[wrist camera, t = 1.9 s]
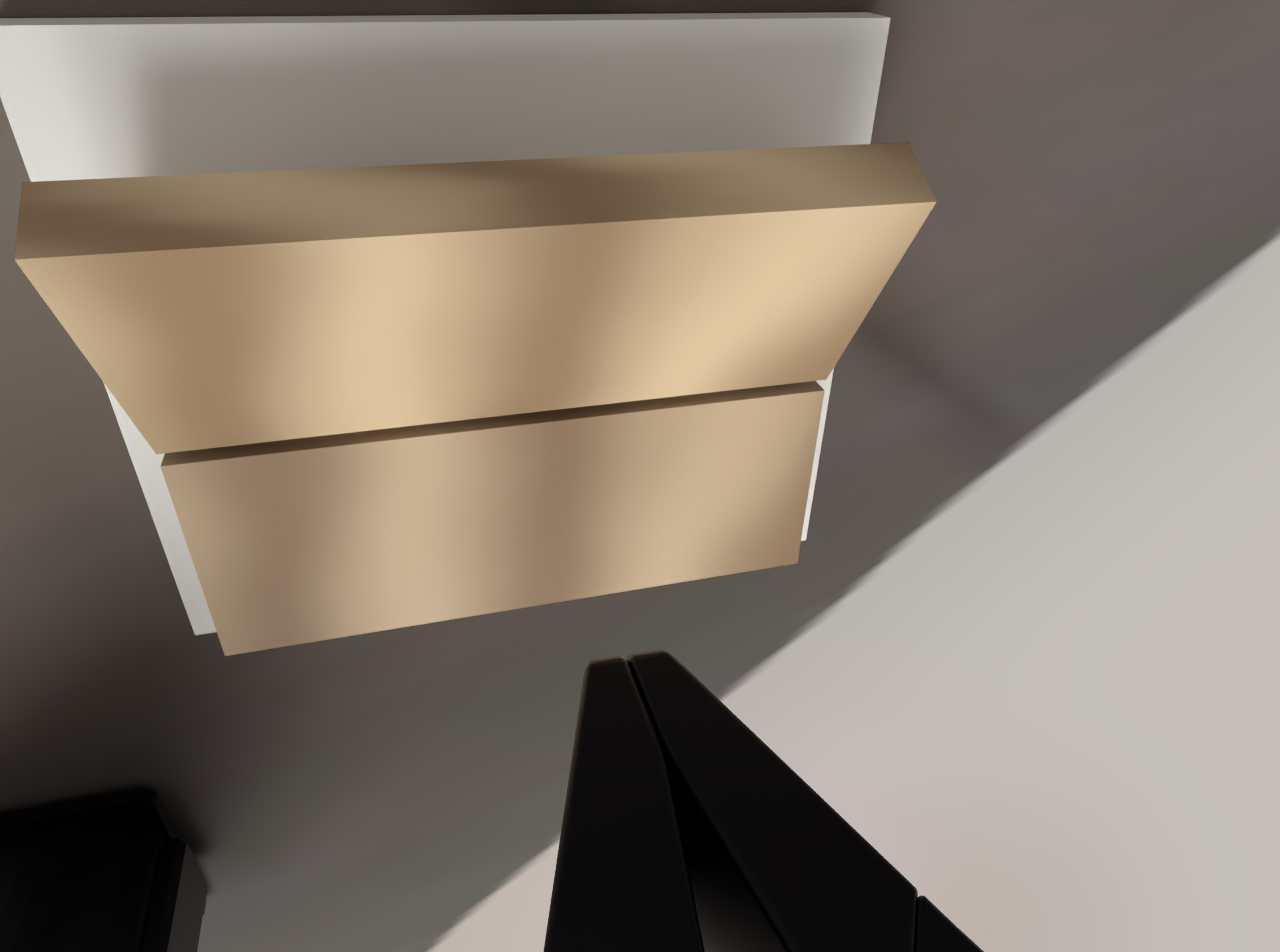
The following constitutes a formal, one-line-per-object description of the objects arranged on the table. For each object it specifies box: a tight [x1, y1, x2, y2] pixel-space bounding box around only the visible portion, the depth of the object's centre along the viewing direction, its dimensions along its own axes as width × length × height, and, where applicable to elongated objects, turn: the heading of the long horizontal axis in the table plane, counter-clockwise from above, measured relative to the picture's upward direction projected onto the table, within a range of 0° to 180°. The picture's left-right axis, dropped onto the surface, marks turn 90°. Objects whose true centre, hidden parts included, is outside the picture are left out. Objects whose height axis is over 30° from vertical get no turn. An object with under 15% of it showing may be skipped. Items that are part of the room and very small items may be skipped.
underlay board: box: [0, 12, 890, 635], centre depth 21 cm, size 17×14×1 cm
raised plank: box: [14, 142, 936, 454], centre depth 17 cm, size 15×6×2 cm, turn 88°
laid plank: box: [160, 381, 825, 656], centre depth 22 cm, size 15×6×2 cm, turn 88°
